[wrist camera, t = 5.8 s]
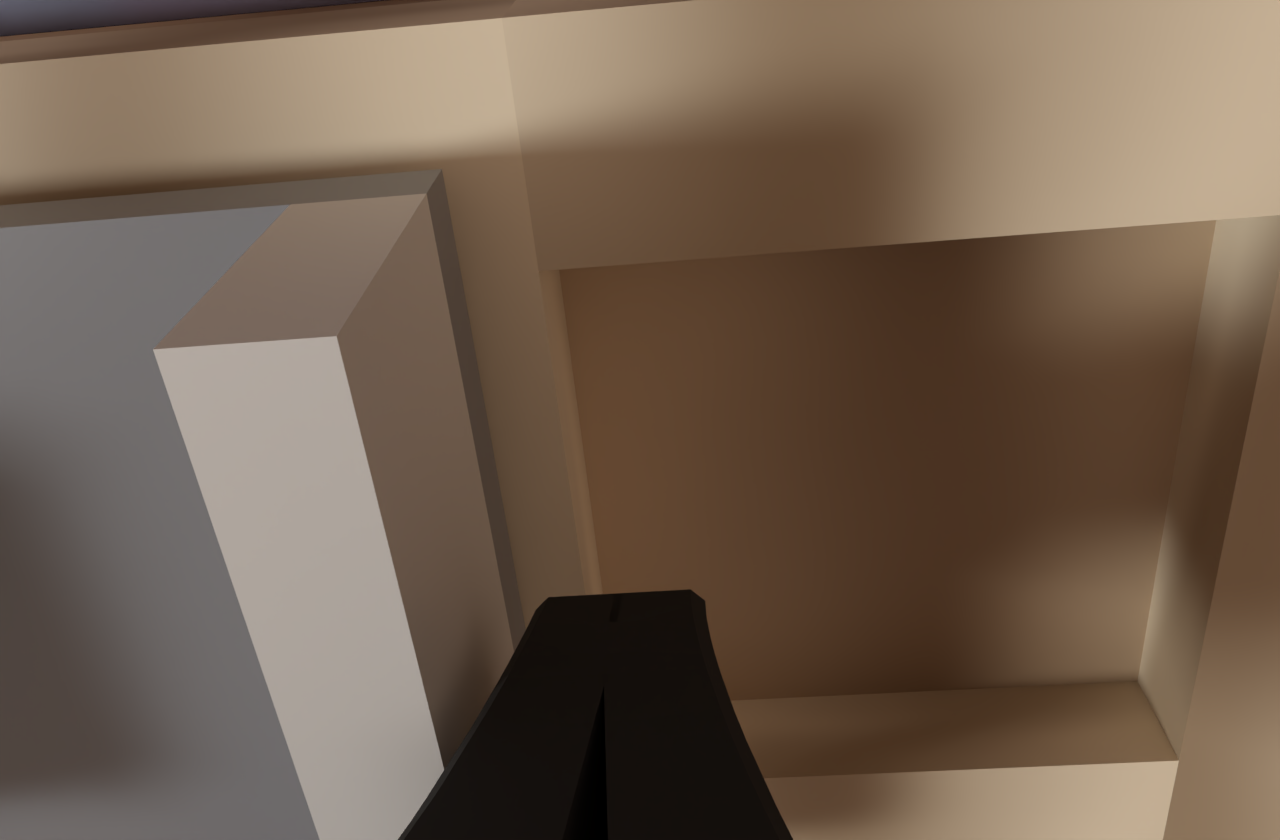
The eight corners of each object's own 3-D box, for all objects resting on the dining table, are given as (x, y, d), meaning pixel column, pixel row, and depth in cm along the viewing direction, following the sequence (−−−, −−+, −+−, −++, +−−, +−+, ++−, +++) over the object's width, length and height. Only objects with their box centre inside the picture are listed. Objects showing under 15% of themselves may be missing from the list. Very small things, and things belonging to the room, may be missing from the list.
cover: (441, 169, 8) (337, 336, 6) (569, 871, 12) (540, 1160, 10) (-413, 238, 9) (-864, 421, 6) (-29, 893, 13) (-210, 1175, 10)
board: (1507, -105, 9) (1649, -88, 8) (1271, 777, 14) (1334, 879, 12) (-941, 124, 10) (-1170, 170, 9) (-371, 845, 15) (-468, 943, 14)
